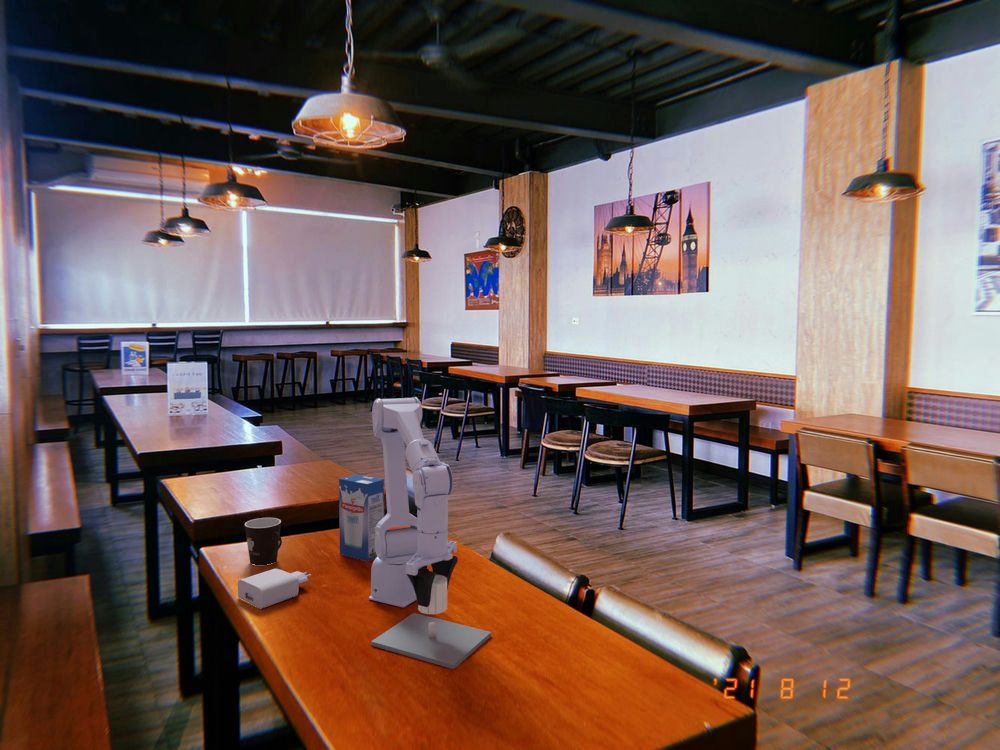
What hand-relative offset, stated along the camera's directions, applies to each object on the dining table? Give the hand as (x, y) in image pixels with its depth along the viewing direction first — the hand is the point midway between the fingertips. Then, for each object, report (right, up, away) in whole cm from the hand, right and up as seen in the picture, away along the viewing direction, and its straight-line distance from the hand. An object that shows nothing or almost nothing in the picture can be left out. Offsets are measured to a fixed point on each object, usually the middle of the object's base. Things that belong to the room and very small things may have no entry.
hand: (432, 599), depth 125 cm
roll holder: (0, -8, +1) cm, 8 cm away
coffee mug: (-46, -5, +40) cm, 61 cm away
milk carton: (-23, -5, +47) cm, 53 cm away
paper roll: (0, -2, 0) cm, 2 cm away
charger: (-36, -7, +22) cm, 43 cm away
